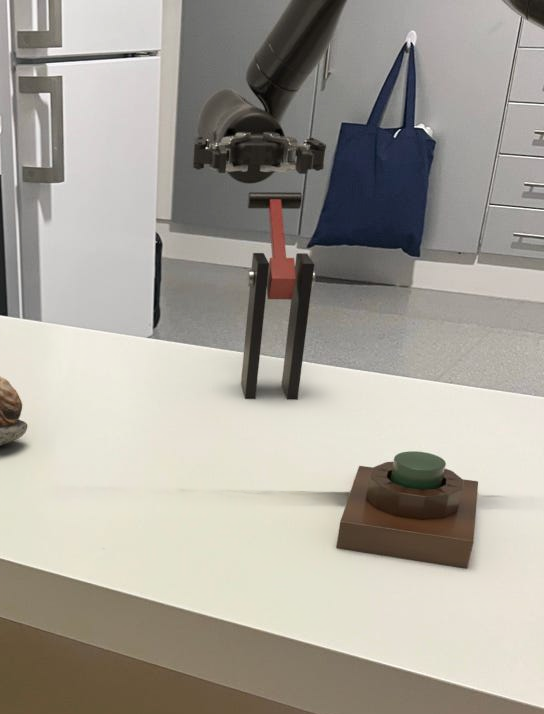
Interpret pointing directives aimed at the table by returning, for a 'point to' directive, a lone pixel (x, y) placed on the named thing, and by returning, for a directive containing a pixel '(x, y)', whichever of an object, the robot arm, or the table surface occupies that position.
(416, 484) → the button
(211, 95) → the robot arm
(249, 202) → the lever
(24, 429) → the bison figurine
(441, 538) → the button block
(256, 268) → the bracket
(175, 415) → the table surface
